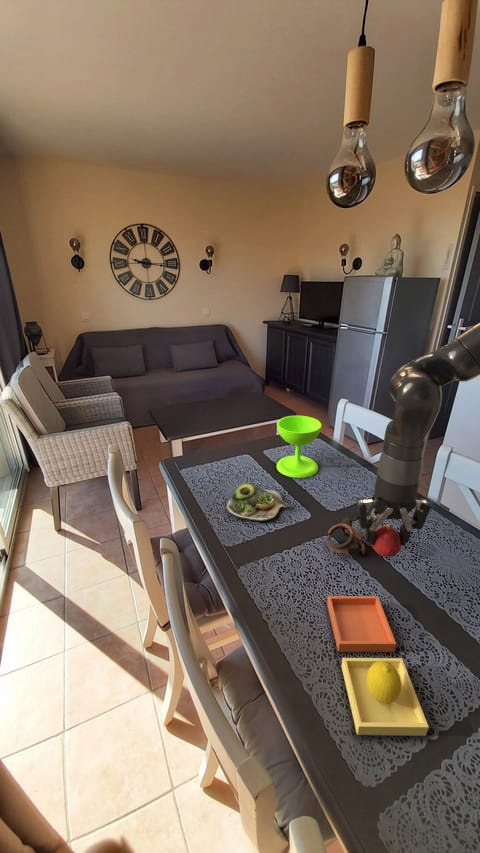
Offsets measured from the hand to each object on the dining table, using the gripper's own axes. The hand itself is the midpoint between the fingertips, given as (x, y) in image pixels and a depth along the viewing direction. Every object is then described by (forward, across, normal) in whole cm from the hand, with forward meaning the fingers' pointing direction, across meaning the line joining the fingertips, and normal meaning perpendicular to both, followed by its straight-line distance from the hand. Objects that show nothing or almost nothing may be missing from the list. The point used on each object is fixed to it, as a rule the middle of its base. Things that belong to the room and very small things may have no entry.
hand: (386, 542), depth 75 cm
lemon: (+18, -5, -20) cm, 27 cm away
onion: (+4, 0, 0) cm, 4 cm away
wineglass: (+18, -11, +61) cm, 64 cm away
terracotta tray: (+18, -5, -6) cm, 20 cm away
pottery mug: (+18, -2, +18) cm, 26 cm away
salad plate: (+18, -28, +37) cm, 49 cm away
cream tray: (+18, -5, -20) cm, 27 cm away
